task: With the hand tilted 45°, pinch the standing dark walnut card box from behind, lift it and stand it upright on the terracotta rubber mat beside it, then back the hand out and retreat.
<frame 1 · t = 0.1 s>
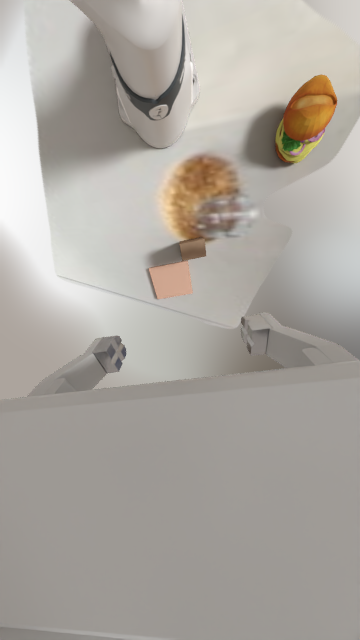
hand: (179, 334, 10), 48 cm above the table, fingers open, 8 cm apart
card box: (191, 246, 51), on the table
mat: (171, 280, 57), on the table
cheeseburger: (292, 135, 37), on the table
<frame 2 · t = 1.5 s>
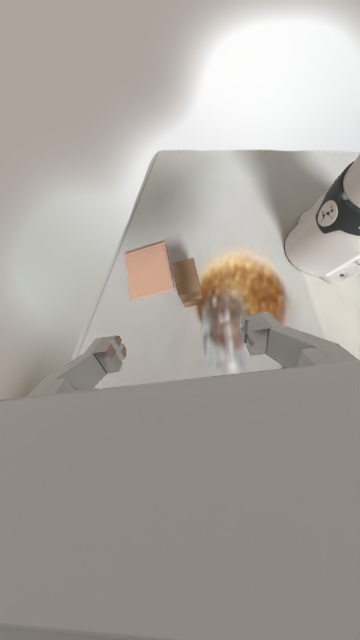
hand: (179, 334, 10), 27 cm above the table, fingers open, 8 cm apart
card box: (191, 292, 39), on the table
mat: (149, 271, 42), on the table
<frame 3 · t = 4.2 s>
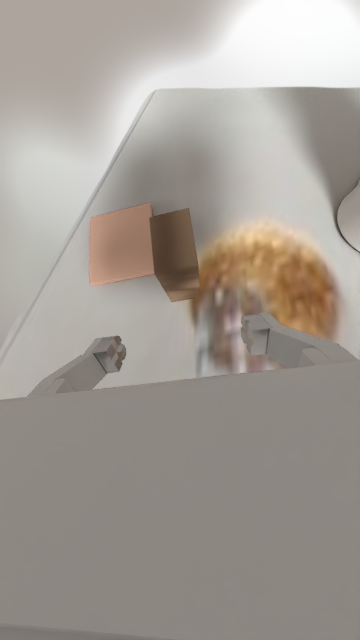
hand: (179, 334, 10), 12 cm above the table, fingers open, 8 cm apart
card box: (183, 279, 25), on the table
mat: (123, 245, 28), on the table
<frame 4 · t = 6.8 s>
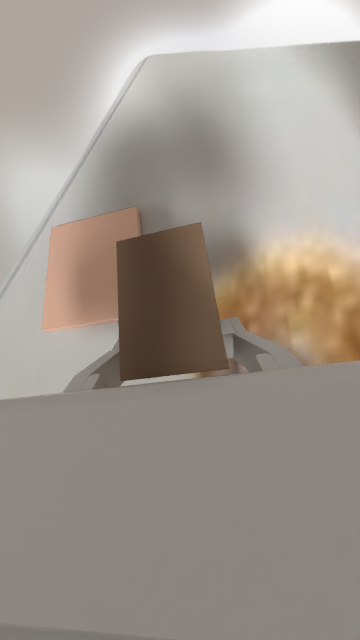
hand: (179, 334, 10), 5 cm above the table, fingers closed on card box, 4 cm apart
card box: (185, 327, 16), on the table, touching gripper
mat: (97, 269, 19), on the table
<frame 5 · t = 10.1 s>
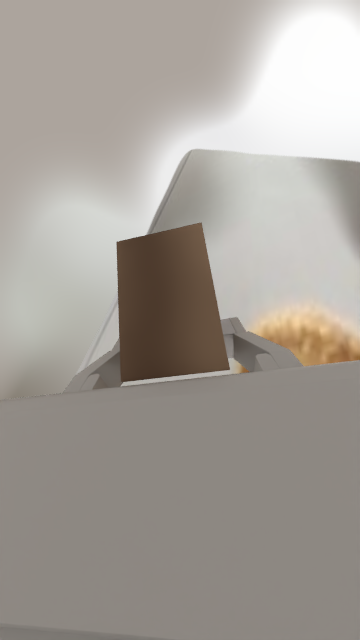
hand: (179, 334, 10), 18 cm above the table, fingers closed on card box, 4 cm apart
card box: (185, 328, 16), point 12 cm above the table, touching gripper
when the fingers open (8 cm above the table, at t = 13.3 s): card box drops 1 cm, resting on mat.
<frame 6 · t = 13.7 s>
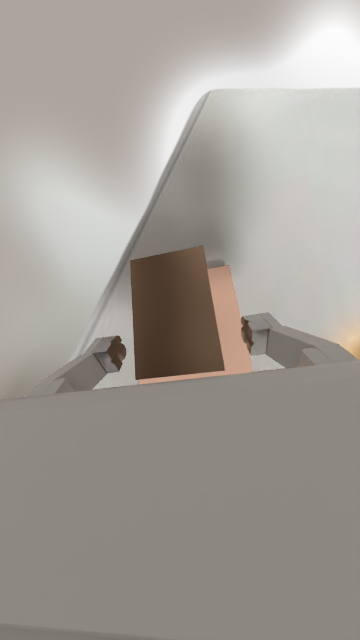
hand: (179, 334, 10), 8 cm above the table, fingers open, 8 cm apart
card box: (187, 331, 17), point 1 cm above the table, touching mat
mat: (187, 331, 18), on the table
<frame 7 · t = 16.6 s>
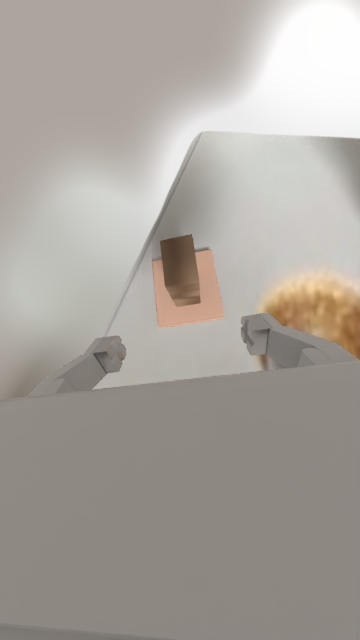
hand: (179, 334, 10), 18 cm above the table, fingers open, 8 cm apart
card box: (186, 287, 29), point 1 cm above the table, touching mat
mat: (186, 289, 30), on the table
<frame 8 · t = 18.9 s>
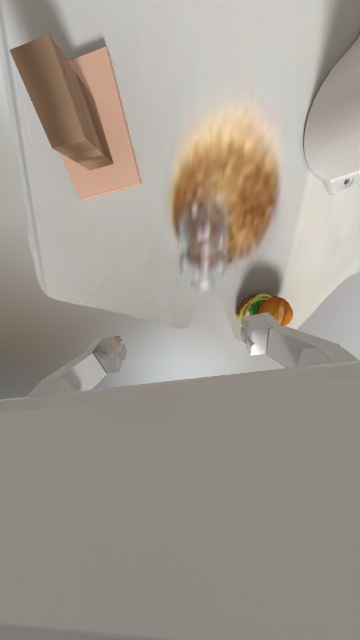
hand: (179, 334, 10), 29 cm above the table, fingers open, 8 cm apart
card box: (91, 137, 25), point 1 cm above the table, touching mat
mat: (94, 139, 25), on the table
cheeseburger: (256, 307, 41), on the table
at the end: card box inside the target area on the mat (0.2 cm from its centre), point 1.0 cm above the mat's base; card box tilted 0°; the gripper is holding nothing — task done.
